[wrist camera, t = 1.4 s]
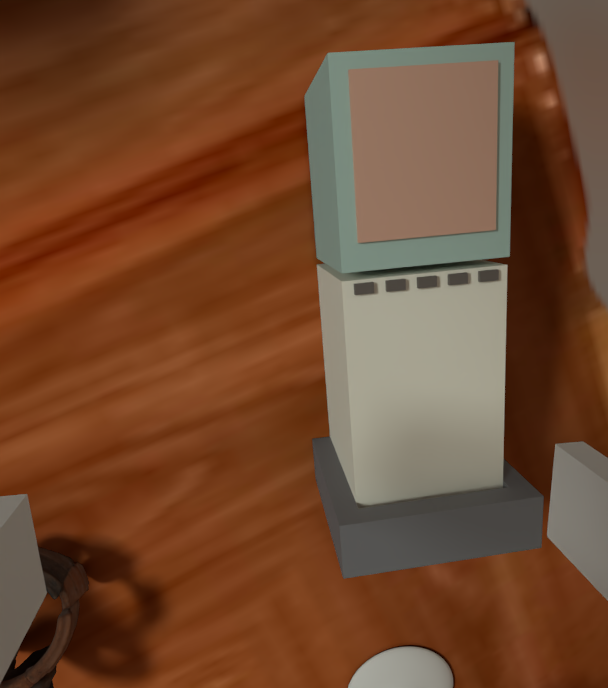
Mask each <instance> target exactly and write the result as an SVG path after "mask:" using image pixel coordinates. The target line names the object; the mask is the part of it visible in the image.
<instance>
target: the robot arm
mask: <svg viewBox="0 0 608 688" xmlns="http://www.w3.org/2000/svg"><path fill="white" fill-rule="evenodd" d="M547 537H548V538H549V539H550V540H551V541H552V542H553V543H554V544H555V545H556V546H557V547H558V549H559V550H560V551H561V552H562V553H563V554H564V555H565V556H566V557H567V558H568V559H569V560H570V561H571V562H572V563H573V564H574V565H575V567H576V568H577V569H578V570H579V571H580V572H581V573H582V574H583V575H584V576H585V577H586V578H587V579H588V580H589V581H590V582H591V583H592V585H593V586H594V587H595V588H596V589H597V590H598V591H599V592H600V593H601V594H602V595H603V596H604V597H605V598H606V599H607V600H608V458H607V457H605V456H604V455H602V454H601V453H599V452H598V451H596V450H595V449H593V448H592V447H590V446H589V445H587V444H586V443H585V442H583V441H582V442H571V443H561V444H555V453H554V464H553V475H552V486H551V497H550V508H549V519H548V529H547ZM46 594H47V591H46V586H45V581H44V576H43V571H42V566H41V561H40V556H39V551H38V546H37V541H36V536H35V531H34V526H33V521H32V516H31V511H30V506H29V501H28V496H27V494H22V495H12V496H1V497H0V683H1V682H2V680H3V678H4V676H5V674H6V672H7V670H8V668H9V666H10V664H11V662H12V660H13V658H14V656H15V654H16V652H17V651H18V649H19V647H20V645H21V643H22V641H23V639H24V637H25V635H26V633H27V631H28V629H29V627H30V625H31V623H32V621H33V620H34V618H35V616H36V614H37V612H38V610H39V608H40V606H41V604H42V602H43V600H44V598H45V596H46Z"/></svg>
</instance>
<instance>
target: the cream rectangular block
mask: <svg viewBox="0 0 608 688" xmlns="http://www.w3.org/2000/svg"><path fill="white" fill-rule="evenodd" d="M317 273H318V286H319V299H320V312H321V325H322V338H323V351H324V364H325V377H326V391H327V404H328V417H329V430H330V437H323V438H316V439H312V441H313V452H314V464H315V475H316V482H317V485H318V489H319V492H320V496H321V500H322V503H323V507H324V510H325V514H326V518H327V521H328V525H329V528H330V532H331V536H332V539H333V543H334V546H335V550H336V553H337V557H338V561H339V564H340V568H341V571H342V575H343V579H344V578H350V577H357V576H363V575H370V574H376V573H382V572H389V571H395V570H402V569H408V568H414V567H421V566H427V565H434V564H440V563H446V562H453V561H459V560H466V559H472V558H478V557H485V556H491V555H497V554H504V553H510V552H517V551H523V550H529V549H536V548H541V544H542V521H543V499H544V496H543V495H542V494H541V493H540V492H539V491H537V490H536V489H535V488H534V487H533V486H532V485H531V484H530V483H529V482H528V481H527V480H526V479H525V478H524V477H523V476H522V475H520V474H519V473H518V472H517V471H516V470H515V469H514V468H513V467H512V466H511V465H510V464H509V463H508V462H507V461H506V460H505V459H503V457H504V408H505V360H506V311H507V265H506V264H501V263H496V262H490V261H485V260H472V261H462V262H452V263H441V264H431V265H421V266H411V267H401V268H391V269H381V270H371V271H361V272H351V273H340V272H339V271H337V270H335V269H334V268H332V267H330V266H329V265H327V264H317Z"/></svg>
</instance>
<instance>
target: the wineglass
mask: <svg viewBox="0 0 608 688" xmlns="http://www.w3.org/2000/svg"><path fill="white" fill-rule="evenodd" d="M348 688H453V675H452V672H451V669H450V667H449V666H448V664H447V663H446V661H445V660H444V659H443V658H442V657H440V656H439V655H438V654H436V653H435V652H433V651H431V650H428V649H425V648H421V647H414V646H404V647H397V648H392V649H389V650H386V651H383V652H381V653H379V654H377V655H375V656H373V657H372V658H370V659H369V660H368V661H366V662H365V663H364V664H363V665H362V666H361V667H360V668H359V669H358V670H357V671H356V673H355V674H354V676H353V677H352V679H351V681H350V683H349V686H348Z"/></svg>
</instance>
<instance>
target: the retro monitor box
mask: <svg viewBox="0 0 608 688" xmlns="http://www.w3.org/2000/svg"><path fill="white" fill-rule="evenodd" d="M513 86H514V42H506V43H489V44H472V45H455V46H438V47H421V48H404V49H387V50H369V51H352V52H335V53H327V55H326V57H325V59H324V61H323V63H322V65H321V66H320V68H319V70H318V72H317V74H316V76H315V78H314V79H313V81H312V83H311V85H310V87H309V89H308V91H307V92H306V94H305V96H304V97H305V110H306V124H307V137H308V150H309V163H310V176H311V189H312V202H313V215H314V228H315V241H316V254H317V259H319V260H321V261H322V262H324V263H326V264H327V265H329V266H330V267H332V268H334V269H335V270H337V271H339V272H340V273H351V272H361V271H371V270H381V269H391V268H401V267H411V266H421V265H431V264H441V263H452V262H462V261H472V260H482V259H492V258H502V257H510V224H511V178H512V132H513Z"/></svg>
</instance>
